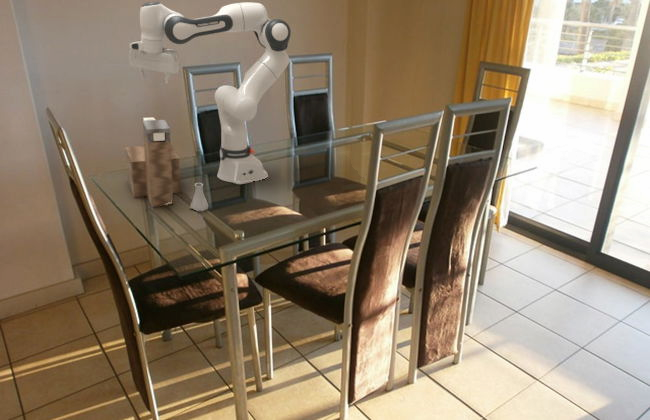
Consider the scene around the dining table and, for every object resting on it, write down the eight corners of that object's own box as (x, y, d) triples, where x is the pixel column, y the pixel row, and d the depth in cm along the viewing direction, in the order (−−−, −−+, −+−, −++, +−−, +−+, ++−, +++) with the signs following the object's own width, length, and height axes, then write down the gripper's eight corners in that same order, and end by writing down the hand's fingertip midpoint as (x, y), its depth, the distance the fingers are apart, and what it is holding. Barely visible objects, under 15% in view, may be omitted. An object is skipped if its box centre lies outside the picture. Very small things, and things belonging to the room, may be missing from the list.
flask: (204, 213, 197) (203, 189, 193) (186, 210, 198) (185, 186, 194) (211, 205, 203) (211, 182, 199) (194, 202, 204) (194, 179, 200)
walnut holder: (172, 177, 223) (169, 107, 209) (185, 203, 203) (184, 127, 189) (128, 181, 215) (122, 108, 201) (137, 208, 195) (132, 130, 181)
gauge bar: (154, 124, 206) (153, 116, 204) (165, 140, 188) (164, 131, 186) (143, 125, 204) (143, 116, 202) (153, 141, 186) (153, 131, 185)
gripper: (181, 48, 203) (182, 83, 209) (134, 41, 206) (136, 76, 212) (173, 51, 197) (174, 87, 203) (125, 43, 200) (128, 79, 207)
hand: (155, 81), depth 208 cm, fingers open, 8 cm apart
